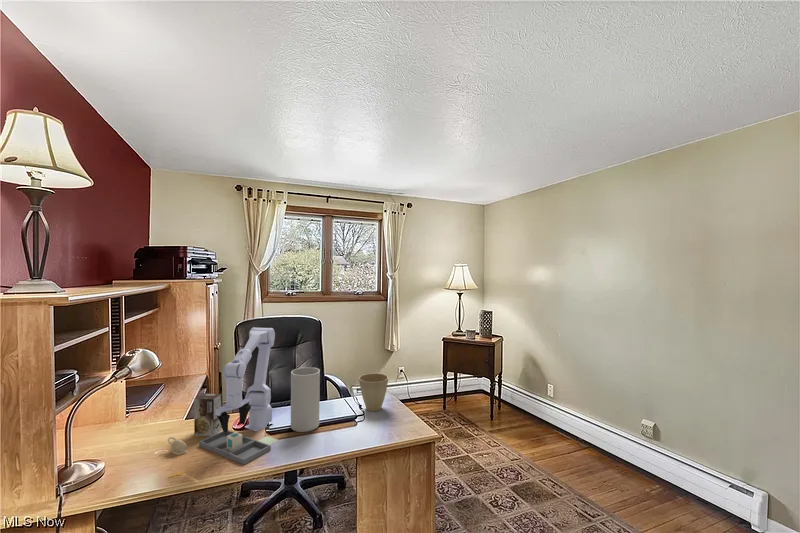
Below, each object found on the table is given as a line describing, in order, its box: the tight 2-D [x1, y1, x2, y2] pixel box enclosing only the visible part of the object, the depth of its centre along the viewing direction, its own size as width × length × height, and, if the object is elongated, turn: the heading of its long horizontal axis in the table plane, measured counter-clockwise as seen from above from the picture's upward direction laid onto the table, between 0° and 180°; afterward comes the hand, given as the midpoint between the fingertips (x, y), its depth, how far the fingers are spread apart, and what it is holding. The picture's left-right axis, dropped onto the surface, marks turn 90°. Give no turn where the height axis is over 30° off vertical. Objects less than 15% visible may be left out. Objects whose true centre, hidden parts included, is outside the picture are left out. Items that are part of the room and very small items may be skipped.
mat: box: [257, 435, 280, 446], centre depth 150 cm, size 7×7×1 cm
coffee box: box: [193, 393, 223, 437], centre depth 157 cm, size 9×6×16 cm
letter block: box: [227, 431, 243, 450], centre depth 144 cm, size 4×4×5 cm
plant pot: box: [358, 372, 389, 412], centre depth 186 cm, size 15×15×16 cm
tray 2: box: [212, 434, 255, 459], centre depth 144 cm, size 12×9×2 cm
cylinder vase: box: [290, 366, 321, 433], centre depth 165 cm, size 12×12×25 cm
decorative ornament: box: [167, 436, 189, 456], centre depth 141 cm, size 4×8×5 cm, turn 65°
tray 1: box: [198, 429, 236, 453], centre depth 149 cm, size 12×9×2 cm
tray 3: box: [227, 439, 272, 466], centre depth 140 cm, size 12×9×2 cm
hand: (233, 427), depth 144 cm, fingers open, 7 cm apart
